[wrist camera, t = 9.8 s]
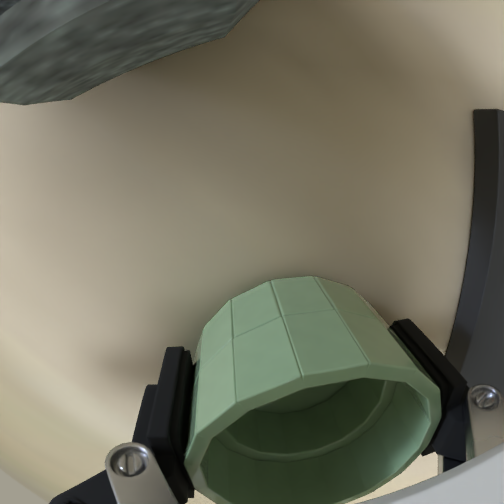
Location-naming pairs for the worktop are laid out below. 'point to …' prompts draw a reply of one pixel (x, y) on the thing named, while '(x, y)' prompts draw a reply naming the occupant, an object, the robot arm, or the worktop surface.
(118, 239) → the worktop surface
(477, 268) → the scale
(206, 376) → the bowl
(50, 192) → the worktop surface
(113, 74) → the mortar and pestle
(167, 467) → the robot arm
